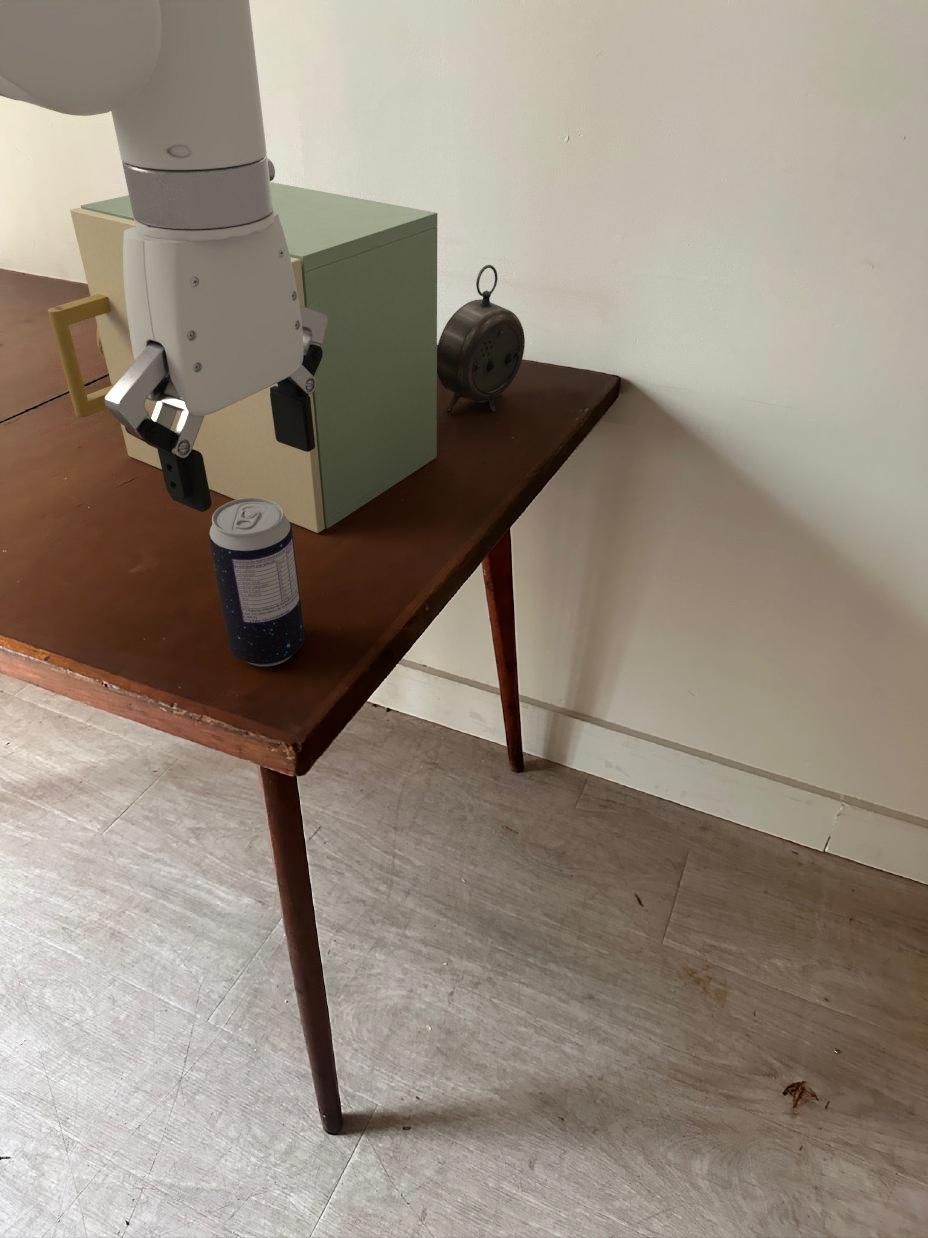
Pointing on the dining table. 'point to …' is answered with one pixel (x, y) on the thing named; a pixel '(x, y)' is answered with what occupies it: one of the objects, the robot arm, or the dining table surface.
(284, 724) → the dining table surface
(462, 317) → the alarm clock
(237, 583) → the beverage can
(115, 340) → the cupboard door
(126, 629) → the dining table surface
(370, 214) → the cupboard
